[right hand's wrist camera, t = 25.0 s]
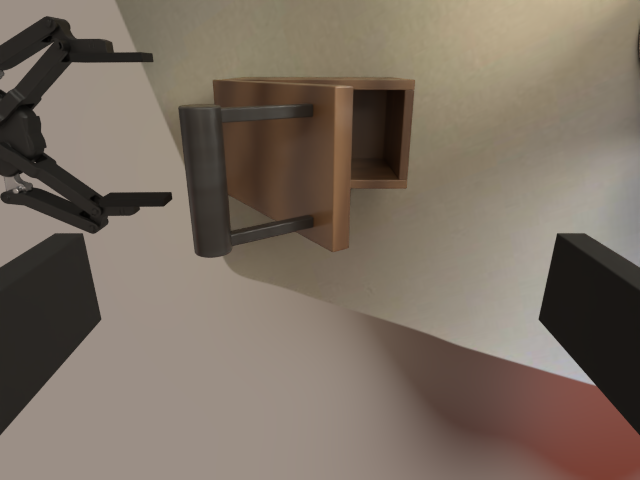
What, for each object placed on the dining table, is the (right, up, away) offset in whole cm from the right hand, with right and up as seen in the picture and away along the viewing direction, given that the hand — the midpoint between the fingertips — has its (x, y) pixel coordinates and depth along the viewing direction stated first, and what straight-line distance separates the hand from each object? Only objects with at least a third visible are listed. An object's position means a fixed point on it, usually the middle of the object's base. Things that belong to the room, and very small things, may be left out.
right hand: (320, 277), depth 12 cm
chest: (0, +14, +36) cm, 39 cm away
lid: (-3, +7, +19) cm, 21 cm away
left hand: (-16, +12, +30) cm, 36 cm away
